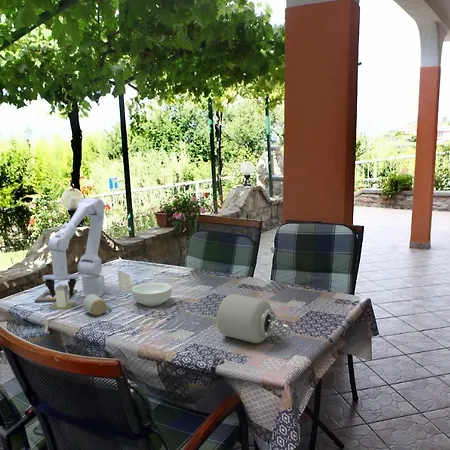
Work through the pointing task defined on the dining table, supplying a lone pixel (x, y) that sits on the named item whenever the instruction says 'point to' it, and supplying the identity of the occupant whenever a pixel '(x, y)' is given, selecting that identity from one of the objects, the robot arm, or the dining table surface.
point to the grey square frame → (49, 299)
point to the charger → (62, 296)
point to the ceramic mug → (95, 305)
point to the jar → (245, 318)
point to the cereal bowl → (151, 293)
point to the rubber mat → (63, 307)
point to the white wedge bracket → (124, 282)
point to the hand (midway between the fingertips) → (62, 296)
